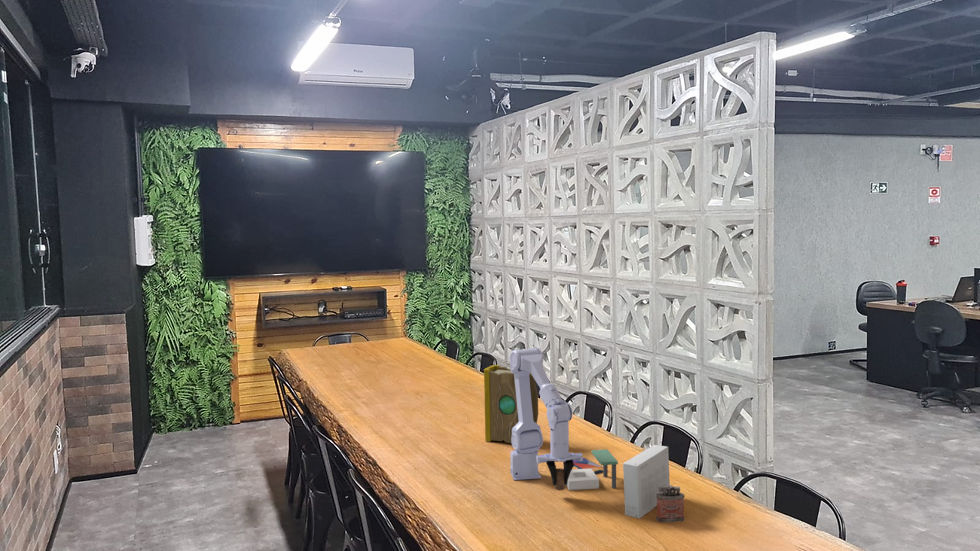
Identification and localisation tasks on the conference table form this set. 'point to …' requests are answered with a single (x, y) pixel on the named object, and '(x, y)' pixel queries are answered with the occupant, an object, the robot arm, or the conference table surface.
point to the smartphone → (588, 465)
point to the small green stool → (606, 463)
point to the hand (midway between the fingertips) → (559, 483)
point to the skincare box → (645, 480)
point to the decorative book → (503, 403)
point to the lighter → (670, 504)
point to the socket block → (582, 479)
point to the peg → (560, 479)
